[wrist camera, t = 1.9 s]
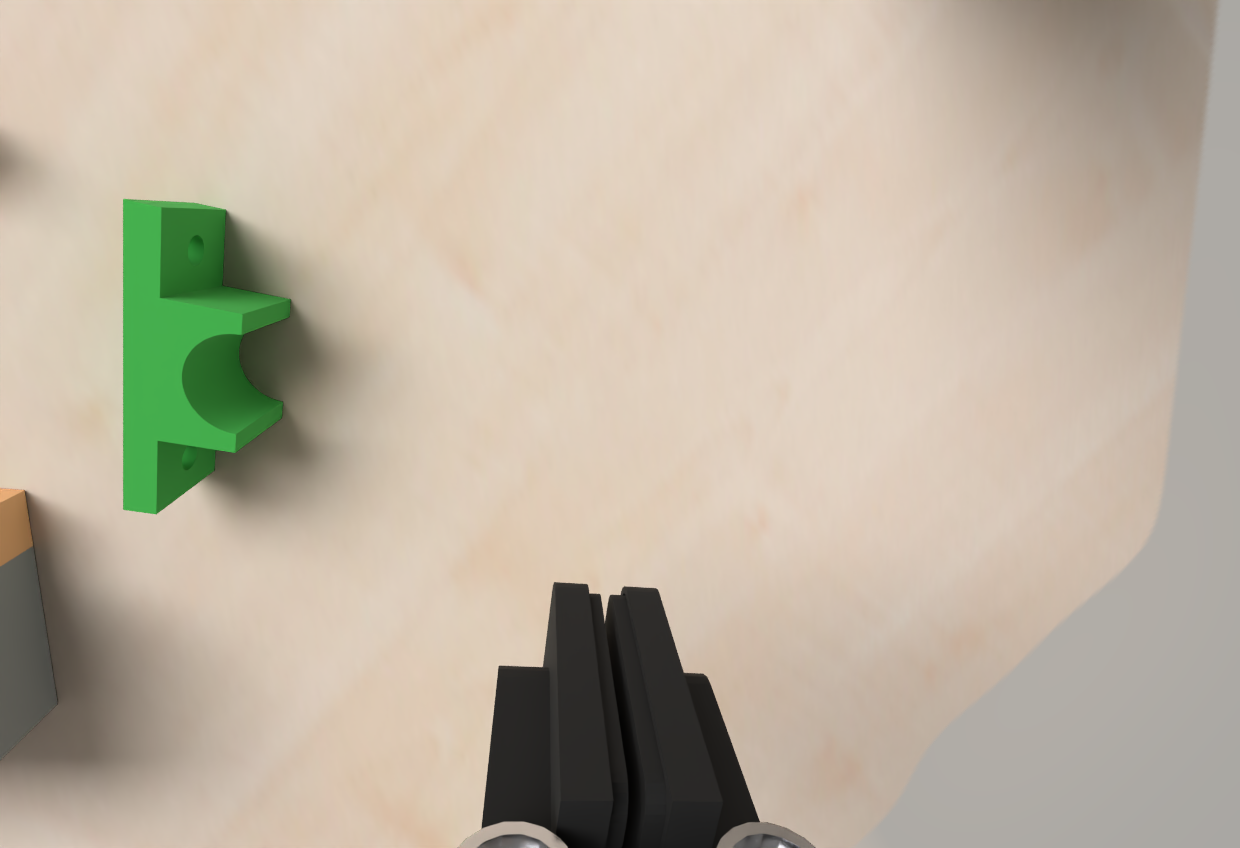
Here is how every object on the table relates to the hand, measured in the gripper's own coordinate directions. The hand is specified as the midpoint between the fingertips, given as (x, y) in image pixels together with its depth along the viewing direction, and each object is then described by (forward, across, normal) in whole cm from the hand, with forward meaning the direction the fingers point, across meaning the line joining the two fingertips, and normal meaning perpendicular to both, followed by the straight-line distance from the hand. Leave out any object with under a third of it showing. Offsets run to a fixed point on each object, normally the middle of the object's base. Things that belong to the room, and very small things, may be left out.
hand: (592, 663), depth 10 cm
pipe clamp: (+17, +13, 0) cm, 22 cm away
